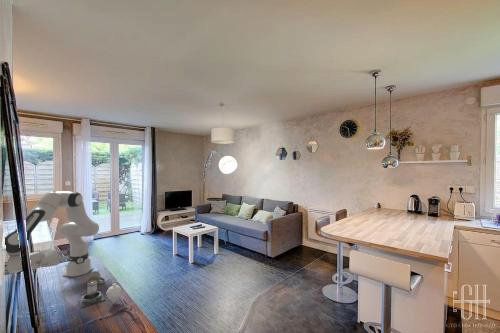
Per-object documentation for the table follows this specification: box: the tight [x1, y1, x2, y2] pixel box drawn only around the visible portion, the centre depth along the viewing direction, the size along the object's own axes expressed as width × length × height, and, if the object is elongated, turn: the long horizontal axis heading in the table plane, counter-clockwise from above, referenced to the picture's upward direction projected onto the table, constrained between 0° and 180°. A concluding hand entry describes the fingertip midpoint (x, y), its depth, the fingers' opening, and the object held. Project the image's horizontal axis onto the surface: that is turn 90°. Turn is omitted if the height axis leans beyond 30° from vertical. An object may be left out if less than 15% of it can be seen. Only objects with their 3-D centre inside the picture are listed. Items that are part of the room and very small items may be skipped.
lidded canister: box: [86, 281, 99, 299], centre depth 141 cm, size 5×5×10 cm
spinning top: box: [106, 283, 122, 304], centre depth 138 cm, size 8×8×12 cm
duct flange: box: [77, 290, 106, 309], centre depth 141 cm, size 12×12×3 cm
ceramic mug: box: [86, 270, 106, 285], centre depth 160 cm, size 11×8×8 cm
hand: (68, 254), depth 136 cm, fingers open, 8 cm apart
